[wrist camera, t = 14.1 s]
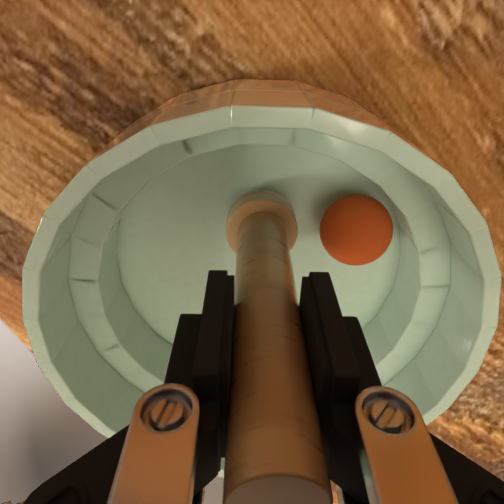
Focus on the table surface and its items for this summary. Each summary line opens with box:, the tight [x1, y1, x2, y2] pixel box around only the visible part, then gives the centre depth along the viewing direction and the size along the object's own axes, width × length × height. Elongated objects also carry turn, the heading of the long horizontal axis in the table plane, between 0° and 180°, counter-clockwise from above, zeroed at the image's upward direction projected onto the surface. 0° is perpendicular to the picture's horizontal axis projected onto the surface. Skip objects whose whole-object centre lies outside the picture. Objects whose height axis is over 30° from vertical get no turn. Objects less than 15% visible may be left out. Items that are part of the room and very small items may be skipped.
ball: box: [320, 194, 393, 266], centre depth 17 cm, size 3×3×3 cm
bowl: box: [22, 79, 502, 478], centre depth 18 cm, size 17×17×6 cm
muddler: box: [222, 190, 333, 504], centre depth 12 cm, size 3×3×12 cm
